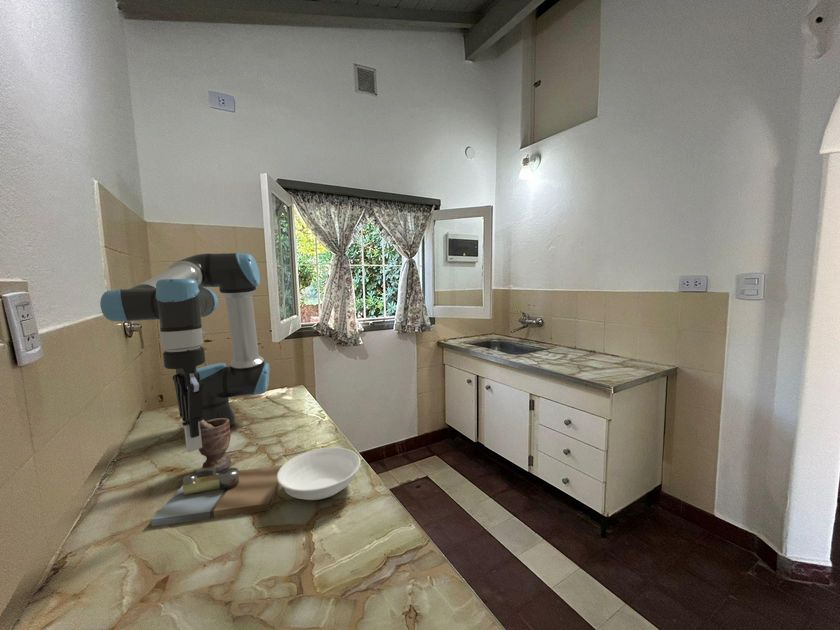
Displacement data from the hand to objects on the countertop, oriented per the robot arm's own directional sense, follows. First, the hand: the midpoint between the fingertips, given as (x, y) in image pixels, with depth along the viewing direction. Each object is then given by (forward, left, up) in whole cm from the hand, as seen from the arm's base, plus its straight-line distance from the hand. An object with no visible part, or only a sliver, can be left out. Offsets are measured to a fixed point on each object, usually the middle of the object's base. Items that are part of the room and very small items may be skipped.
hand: (194, 448), depth 76 cm
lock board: (-4, +4, -14) cm, 16 cm away
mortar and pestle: (-19, -6, -15) cm, 24 cm away
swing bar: (-5, +1, -13) cm, 14 cm away
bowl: (-1, +27, -15) cm, 31 cm away
